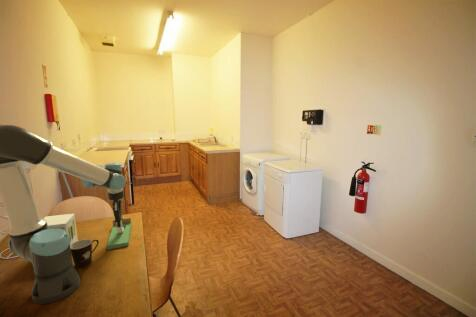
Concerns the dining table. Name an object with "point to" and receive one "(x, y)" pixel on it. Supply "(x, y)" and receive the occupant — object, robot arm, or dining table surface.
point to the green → (120, 235)
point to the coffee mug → (82, 252)
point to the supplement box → (64, 225)
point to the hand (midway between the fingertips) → (119, 231)
